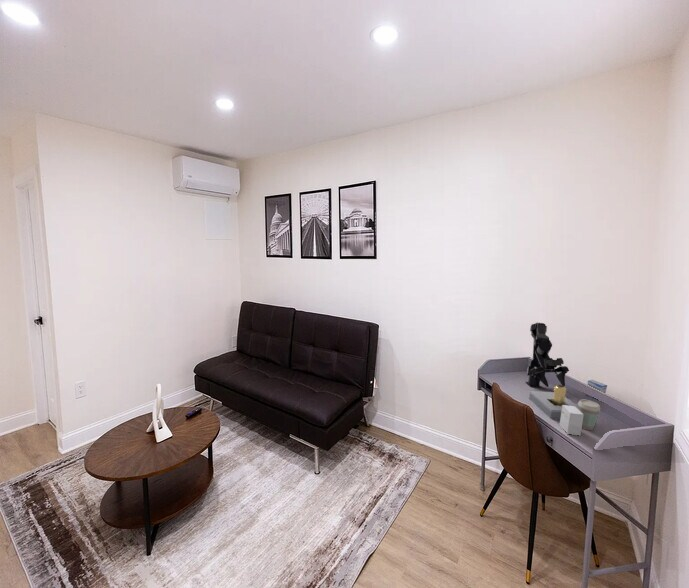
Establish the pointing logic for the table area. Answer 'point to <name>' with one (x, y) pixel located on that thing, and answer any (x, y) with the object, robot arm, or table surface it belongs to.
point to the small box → (571, 420)
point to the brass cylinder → (559, 395)
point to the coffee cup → (589, 413)
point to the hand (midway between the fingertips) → (556, 386)
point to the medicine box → (597, 385)
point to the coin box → (548, 403)
